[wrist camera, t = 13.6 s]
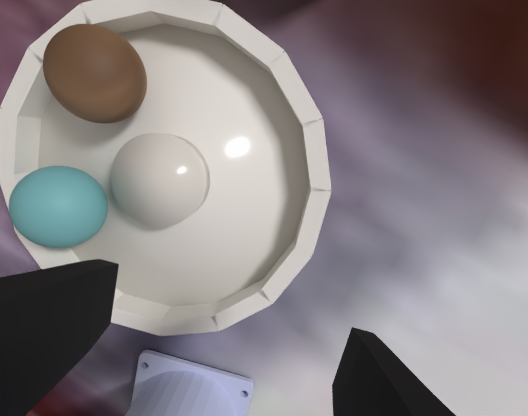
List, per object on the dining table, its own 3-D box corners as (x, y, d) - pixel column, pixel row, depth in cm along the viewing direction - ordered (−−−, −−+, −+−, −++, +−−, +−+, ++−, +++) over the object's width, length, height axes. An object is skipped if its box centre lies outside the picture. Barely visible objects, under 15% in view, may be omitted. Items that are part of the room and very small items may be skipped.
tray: (281, 343, 20) (279, 369, 18) (25, 272, 21) (-9, 288, 19) (364, 53, 16) (376, 37, 14) (46, -20, 17) (6, -46, 15)
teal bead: (118, 242, 19) (67, 270, 15) (50, 225, 19) (-19, 247, 15) (128, 173, 18) (77, 181, 14) (57, 155, 18) (-15, 158, 14)
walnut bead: (135, 147, 17) (111, 117, 13) (54, 115, 16) (0, 73, 12) (165, 78, 18) (152, 28, 13) (89, 45, 17) (49, -19, 13)
